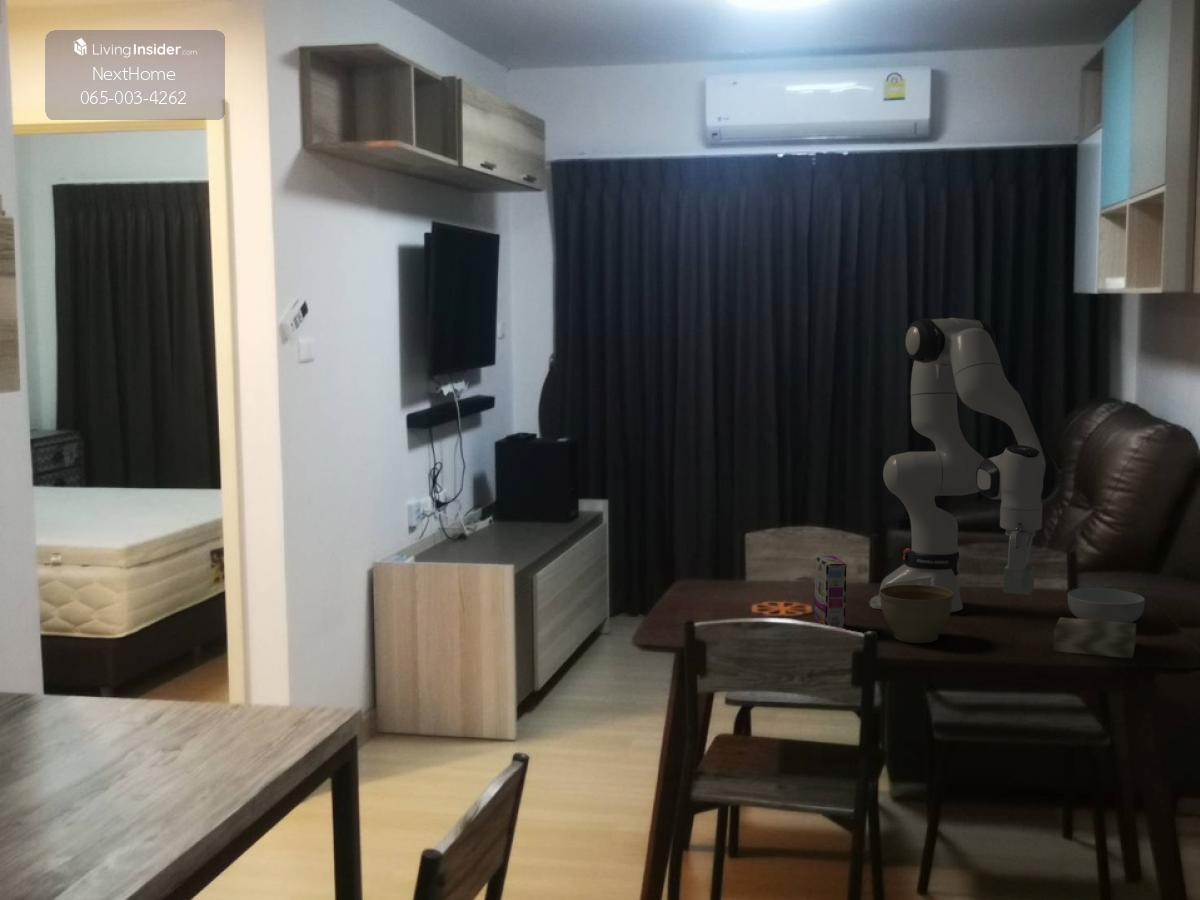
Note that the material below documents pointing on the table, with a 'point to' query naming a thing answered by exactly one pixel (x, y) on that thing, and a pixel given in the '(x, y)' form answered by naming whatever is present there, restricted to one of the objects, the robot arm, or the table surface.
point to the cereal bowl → (1105, 604)
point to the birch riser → (1095, 637)
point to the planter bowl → (916, 611)
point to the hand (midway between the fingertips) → (1018, 581)
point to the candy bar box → (830, 591)
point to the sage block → (1026, 581)
